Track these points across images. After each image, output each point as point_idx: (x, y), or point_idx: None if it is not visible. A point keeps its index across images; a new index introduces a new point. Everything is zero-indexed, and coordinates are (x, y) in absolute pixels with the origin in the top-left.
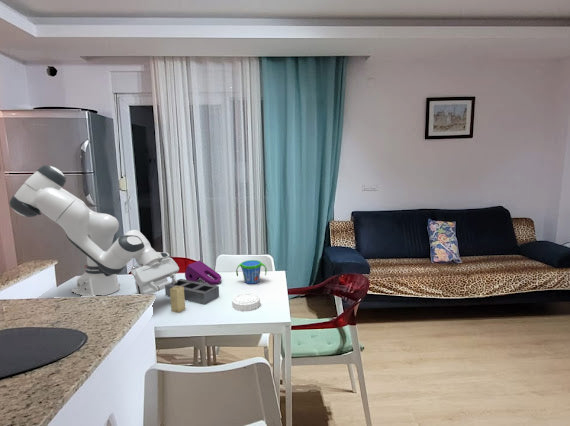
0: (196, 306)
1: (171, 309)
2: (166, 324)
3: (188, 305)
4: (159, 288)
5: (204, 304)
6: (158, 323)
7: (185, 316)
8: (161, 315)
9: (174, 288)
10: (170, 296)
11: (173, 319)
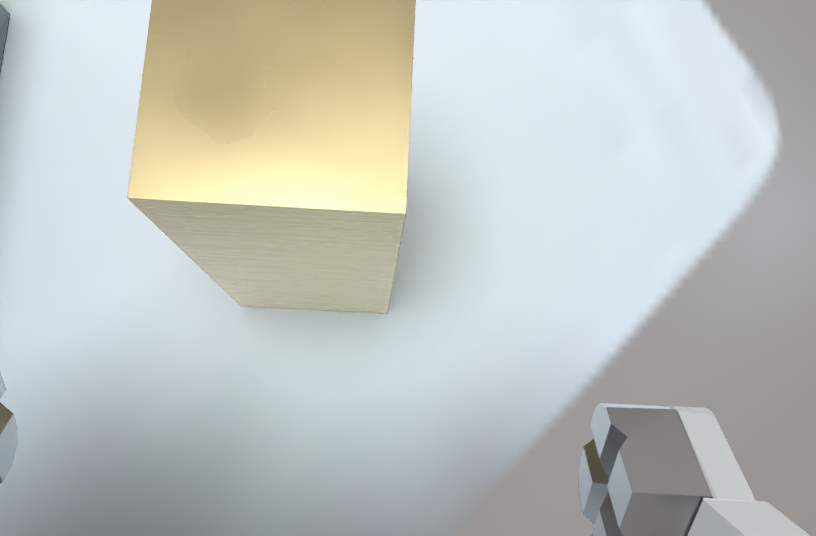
0: (107, 84)
1: (387, 306)
2: (715, 86)
3: (117, 217)
4: (625, 408)
5: (7, 18)
6: (746, 199)
7: (436, 18)
8: (558, 345)
9: (342, 103)
10: (396, 259)
11: (572, 101)
